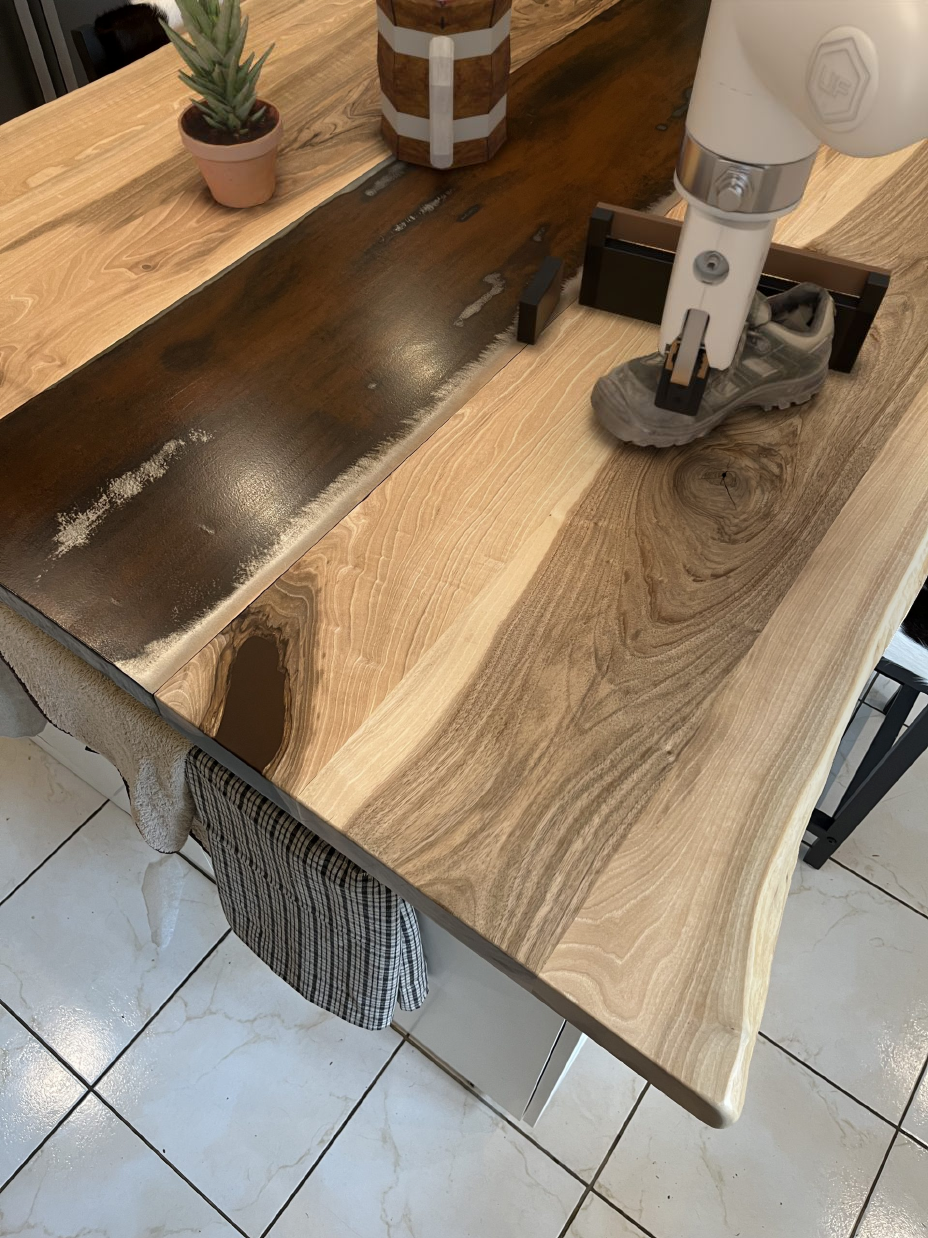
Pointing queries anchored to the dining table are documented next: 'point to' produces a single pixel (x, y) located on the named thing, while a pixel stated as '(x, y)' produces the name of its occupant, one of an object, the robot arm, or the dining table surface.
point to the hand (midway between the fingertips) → (677, 404)
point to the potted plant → (226, 105)
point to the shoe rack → (643, 273)
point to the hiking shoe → (729, 372)
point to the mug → (444, 79)
